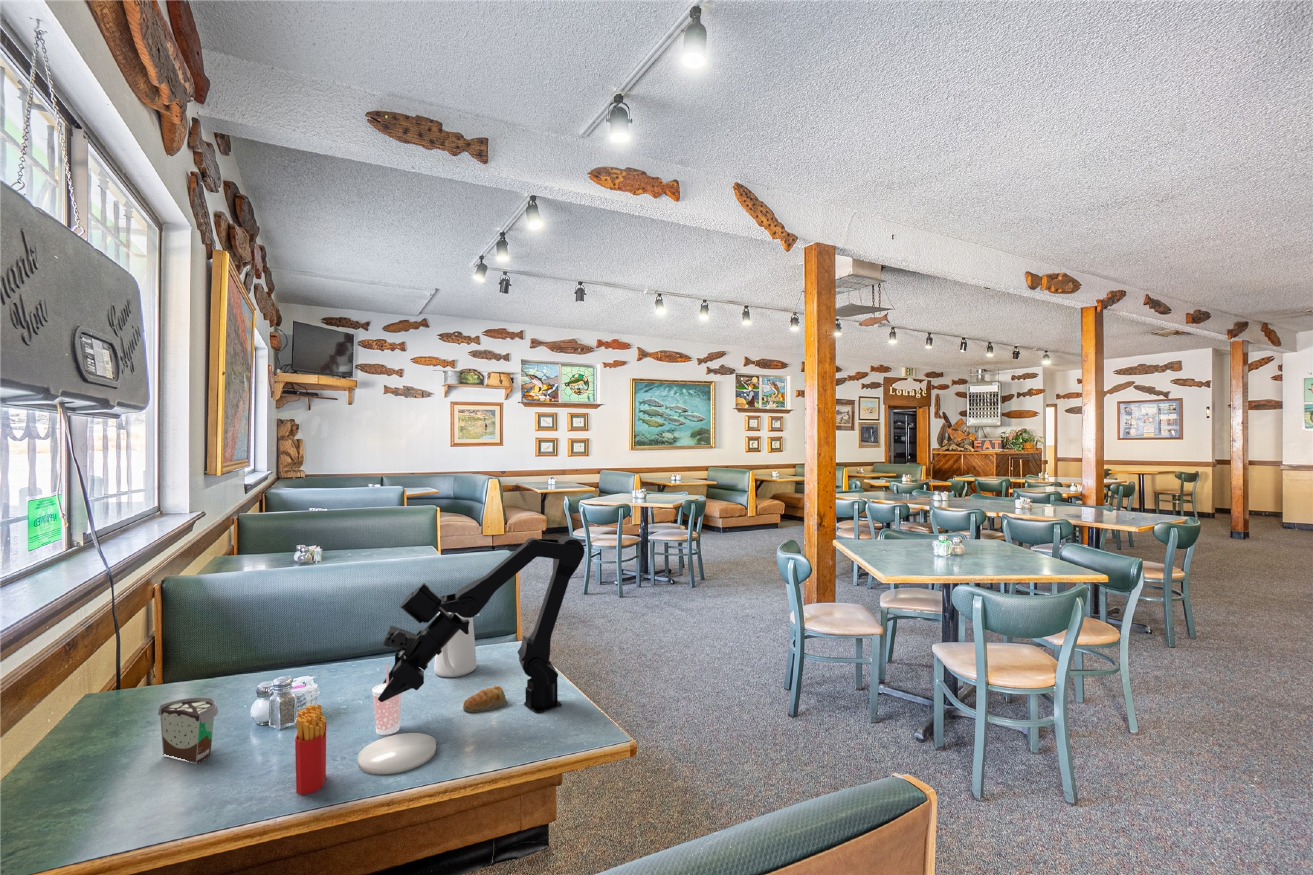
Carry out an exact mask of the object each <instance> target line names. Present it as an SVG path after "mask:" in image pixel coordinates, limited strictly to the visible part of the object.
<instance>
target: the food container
mask: <svg viewBox="0 0 1313 875" xmlns="http://www.w3.org/2000/svg"><path fill="white" fill-rule="evenodd" d="M217 714H219V709H218V705H217V702H216V701H215V699H213V698H212V697H206V696H196V697H189V698H187V697H186V698H180V699H177V700H172V701H169V702H165V703H162V704H159V707H158V713H157V715H158V716H159V718H160V731H161V732H160V733H161V745H162V756H163V755H164V754H166V755H169V756H174V757H177V758H181V759H185V760H187V761H189V762H192V763H191V764H193V763H195V764H194V765H198V764H200V763H202V762H204V761H205V760H206V759H208V758H209V757H208V756H210V755H211V754H212V752H211V751H212V744H213V741H212V740H213V732H214V731H213V730H214V723H215V722H214V721H215V717H216V716H217ZM210 753H211V754H210ZM207 757H208V758H207ZM204 759H205V760H204ZM203 760H204V761H203ZM201 761H202V762H201ZM199 762H200V763H199ZM197 763H198V764H197Z"/></svg>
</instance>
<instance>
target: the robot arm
mask: <svg viewBox="0 0 1313 875" xmlns="http://www.w3.org/2000/svg"><path fill="white" fill-rule="evenodd" d="M585 551H586V550H585V547H584V544H583V543H582V542H581V541H580V540H579V539H576V538H575V537H573V536H571V535H565V536H562V537H561V538H536V537H529V538H528V539H526V540H525V541H524V543H523V544H521V545H520V546H519V547H518V548H517V549H516V550H514V551H513V552H512V553H510V555H508V556H507V557H506V558H505V559H503V560H502V561H501V562H500V563H499V564H497V565H496V566H494V568H493V569H491V570H490V571H489V572H488V573H486V574H485V575H484V576H483V575H482V577H480V578H478V579H475V580H473V581H471V582H469V583H467V584H466V585H465V586H462V587H461V588H460V589H458V590H457V591H456V592H453V593H449V594H446V595H441V596H439V594H437V593H436V592H435V591H433V590H432V589H431V588H430V587H429V585H428V584H426V583H425V582H423V583H422V584H420V586H418V587H417V588H416V589H414V590H413V591H411V592H410V593H409V594H408V595H407V596H406V597H405V599H404V600H403V601H402V602H401V603H400V605H399V608H400V609H401V610H402V611H404V612H405V613H406V614H407V615H409V616H410V617H411V618H413V620H414V621H416V622H417V623H418V624H422V623H423V624H427V623H429V622H430V621H431V620H432V621H431V622H430V623H429V624H428V625H427V626H426V627H425V628H423V629H419V630H418V631H417V632H416V633H414V632H411V631H410V630H405V629H403V628H400V627H397V626H394V625H390V626H389V628H388V630H387V631H386V635H385V636H384V638H383V642H382V645H383V646H384V647H387V648H394V649H396V650H397V651H395V653H394V663H393V666H392V667H391V669H390V671H389V683H388V685H387V686H386V687H385V689H384V690H383V692H382V693H381V695H380V696H379V698H378V700H379V701H380V702H384V701H386V700H388V699H390V698H392V697H394V696H396V695H398V694H400V693H401V694H402V693H405V692H407V691H409V690H411V689H414V690H415V691H418V690H419V689H420V688H421V687H422V686H423V685H424V683H425V671H426V670H427V669H428V666H429V663H430V662H431V661H432V660H433V659H435V656H436V654H437V655H439V654H440V653H441V652H442V648H443V647H444V646H445V645H446V644H447V643H448V642H449V640H450V639H451V638H452V637H453V636H454V635H455V634H456V633H457V632H458V631H459V630H461V631H463V632H464V633H465V634H469V630H468V627H469V620H468V619H466V620H462V619H461V618H460V617H459V616H458V615H460V616H461V617H464V618H472V617H473V618H474V617H475V616H477V615H478V614H479V613H480V612H481V611H482V610H483V609H484V608H485V606H486V605H487V604H488V602H489V601H490V600H491V598H492V597H493V595H494V594H495V593H496V592H497V591H498V590H499V589H500V588H501V587H502V586H504V585H505V584H506V583H507V582H508V581H510V580H511V579H512V578H513V577H514V576H515V575H516V574H518V573H520V571H522V570H523V569H524V568H525V567H526V566H528V565H529V564H530V563H531V562H532V561H533V560H534V559H536V558H537V557H538V558H547V559H553V560H552V573H551V576H550V580H549V583H548V586H547V589H546V592H545V595H544V598H543V600H542V604H541V606H540V610H539V613H538V617H537V620H536V623H535V626H534V629H533V630H532V632H531V634H530V635H529V636H526V635H523V636H522V639H521V644H520V646H519V649H518V650H517V654H518V656H519V657H518V661H519V663H520V666H521V668H522V670H523V672H524V674H525V675H526V676H527V677H529V678H528V679H527V680H526V681H527V682H526V687H525V688H524V689H525V691H524V693H525V701H524V702H523V705H524V706H525V707H527V708H529V709H530V710H531V711H533V712H535V713H537V714H539V713H542V712H546V711H548V710H551V709H555V708H558V707H561V706H562V702H560V701H559V698H558V696H559V695H558V694H559V692H558V691H559V690H558V684H559V683H558V677H559V673H558V671H557V670H556V667H554V664H553V663H552V661H551V660H550V656H551V641H552V640H551V638H552V635H553V632H554V630H555V626H556V623H557V620H558V616H559V614H560V611H561V607H562V605H563V601H564V599H565V598H564V597H565V594H566V592H567V589H568V585H569V582H570V580H571V578H572V576H573V575H574V574H575V572H576V571H577V570H578V568H579V566H580V564H581V562H582V560H583V558H584V556H585ZM439 612H440V613H439ZM449 613H451V614H449ZM455 613H457V614H458V615H457V614H455ZM384 683H386V678H385V679H384V680H383V682H382V684H384Z"/></svg>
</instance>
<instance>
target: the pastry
mask: <svg viewBox="0 0 1313 875" xmlns="http://www.w3.org/2000/svg"><path fill="white" fill-rule="evenodd" d="M504 692H505V691H504V689H503V688H502V687H501V686H500V685H497V686H496V685H494V686H493V687H490V688H485V689H481V690H479V691H478V692H477V693H475V694H474V695H471V696H469V697H468V698H467V699H465V700H464V701H463V705H462V709H463V710H464V711H466V712H469V713H476V712H486V710H487V711H490V710H493V709H497V708H500V706H501V707H503V706H505V704H507V697H506V694H505V693H504ZM496 707H497V708H496ZM489 709H490V710H489Z"/></svg>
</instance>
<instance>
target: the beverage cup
mask: <svg viewBox="0 0 1313 875" xmlns="http://www.w3.org/2000/svg"><path fill="white" fill-rule="evenodd" d="M389 665H390V664H389V663H386V666H385V667H386V668H385V669H386V672H385V673H386V674H385V676H386V677H385V679H386V683H384V684H383V683H380V684H377V685H375V686H374V687H373V688H372V689H371V693H372V696H373V707H374V720H375V733H376V734H377V735H381V736H386V735H387V736H388V735H391V734H394V733H396V732H398V731H399V730H400V727H401V726H400V725H401V723H400V722H401V706H402V693H400V694H398V695H396V696H394V697H392V698H390V699H388V700H386V701H384V702H380V701H379V700H378V698H379V696H380V695H381V693H382V692H383V690H384V689H385V687H386V686H387V685H388V683H389V672H390V671H389V669H390V668H389V667H390V666H389Z"/></svg>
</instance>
